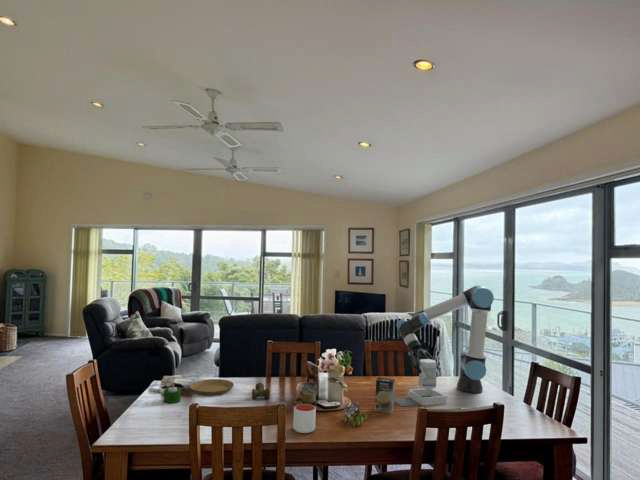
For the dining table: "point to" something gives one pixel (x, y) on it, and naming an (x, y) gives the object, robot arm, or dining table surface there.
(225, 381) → the plant saucer
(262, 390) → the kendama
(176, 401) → the candle
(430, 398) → the open box
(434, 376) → the supplement tub
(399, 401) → the slate mat
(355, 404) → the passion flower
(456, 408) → the dining table surface
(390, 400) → the coffee box
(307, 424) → the cup
